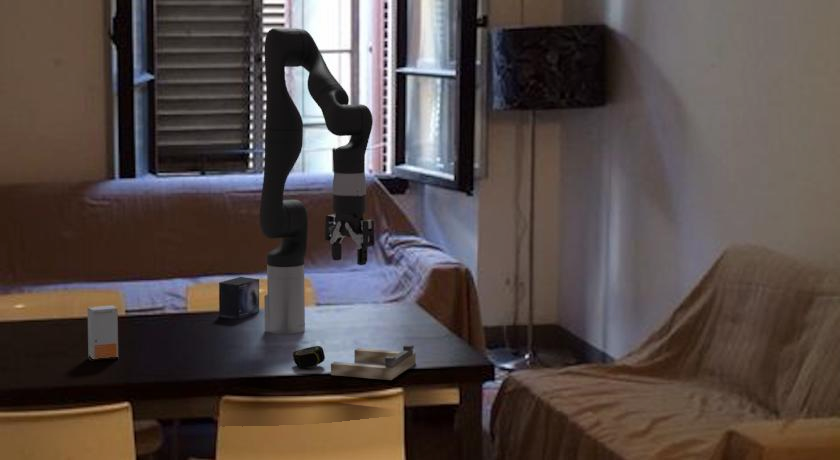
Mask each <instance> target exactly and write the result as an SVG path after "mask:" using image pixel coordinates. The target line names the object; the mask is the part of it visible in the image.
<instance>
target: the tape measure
mask: <svg viewBox="0 0 840 460" xmlns="http://www.w3.org/2000/svg"><path fill="white" fill-rule="evenodd" d="M325 355H326V354H325V351H324V349H323V347H322V346H320V345H314V346H309V347H306V348H302V349H299V350H296V351H293V352H292V357H293V361H294V363H295V365H296V367H297V368H299V369H305V368H306V369H307V368H308V369H311V368H315V367H318V365H320V364H321V363H323V362H324V361H325V359H326V357H325Z"/></svg>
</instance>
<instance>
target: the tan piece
mask: <svg viewBox="0 0 840 460" xmlns="http://www.w3.org/2000/svg"><path fill="white" fill-rule="evenodd" d="M402 347H403V348H402V349H403V350H401V351H399V350H398V351H397V350H387V349H386V350H385V349H384V350H383V349H373V348H358V347H357V348H355V349H354V361H355V362H363V361H368V362H367V363H375V362H377V363H379V364H385V365H379V364H367V363H365V364H364V363H354V362H353V363H352V362H341V361H333V362H332V363H330V375H331V376H341V377H350V378H351V377H352V378H363V379H374V380H386V381H392V380H394V379H395V378H397V377H399V375H401V374H402V373H404V372H405V371H407V370H409V369H410V368H411V367H413V366H414V365H415V364H416V352H414V344H405V345H403V346H402Z"/></svg>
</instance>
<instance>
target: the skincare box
mask: <svg viewBox="0 0 840 460" xmlns="http://www.w3.org/2000/svg"><path fill="white" fill-rule="evenodd" d="M118 316H119V315H118V307H116V306H115V305H111V304H110V305H98V306H89V307H87V341H88V342H87V345H88V346H87V347H88V349H87V350H88V351H87V352H88V357H89V356H90V357H91V358H92V359H98V358H109V357H118V358H119V336H118V335H119V328H118V327H119V324H118V320H119V318H118Z"/></svg>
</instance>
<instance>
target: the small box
mask: <svg viewBox="0 0 840 460" xmlns="http://www.w3.org/2000/svg"><path fill="white" fill-rule="evenodd" d="M218 284H219V285H218V313H219V314H218V317H219V318H227V319H232V320H233V319H234V320H240V319H242V318H246V317H248V316H252V315H254V314H257V313H259V312H260V279H258V278H253V277H247V276H246V277H245V276H239V277H235V278H232V279H227V280H224V281H220V282H218Z"/></svg>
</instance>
